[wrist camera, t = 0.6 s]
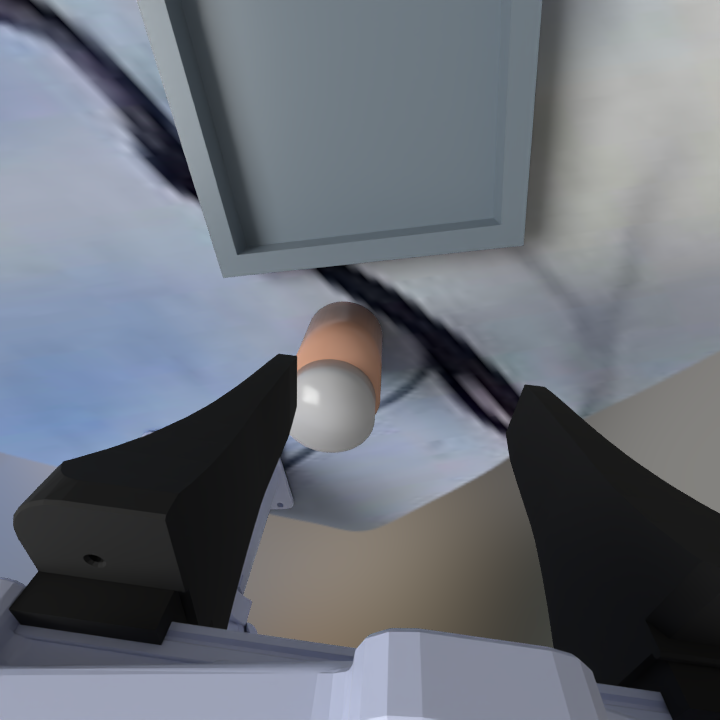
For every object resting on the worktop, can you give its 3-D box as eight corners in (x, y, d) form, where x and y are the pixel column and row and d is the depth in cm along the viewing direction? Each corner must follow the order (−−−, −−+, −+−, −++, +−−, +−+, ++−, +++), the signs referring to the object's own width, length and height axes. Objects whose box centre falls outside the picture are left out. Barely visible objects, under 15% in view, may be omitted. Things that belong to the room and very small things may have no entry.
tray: (239, 262, 21) (223, 277, 19) (132, -116, 14) (87, -158, 12) (509, 232, 20) (523, 245, 17) (534, -214, 13) (563, -283, 11)
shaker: (315, 371, 25) (288, 458, 18) (301, 305, 22) (265, 377, 16) (386, 365, 24) (384, 453, 18) (378, 298, 22) (373, 369, 15)
